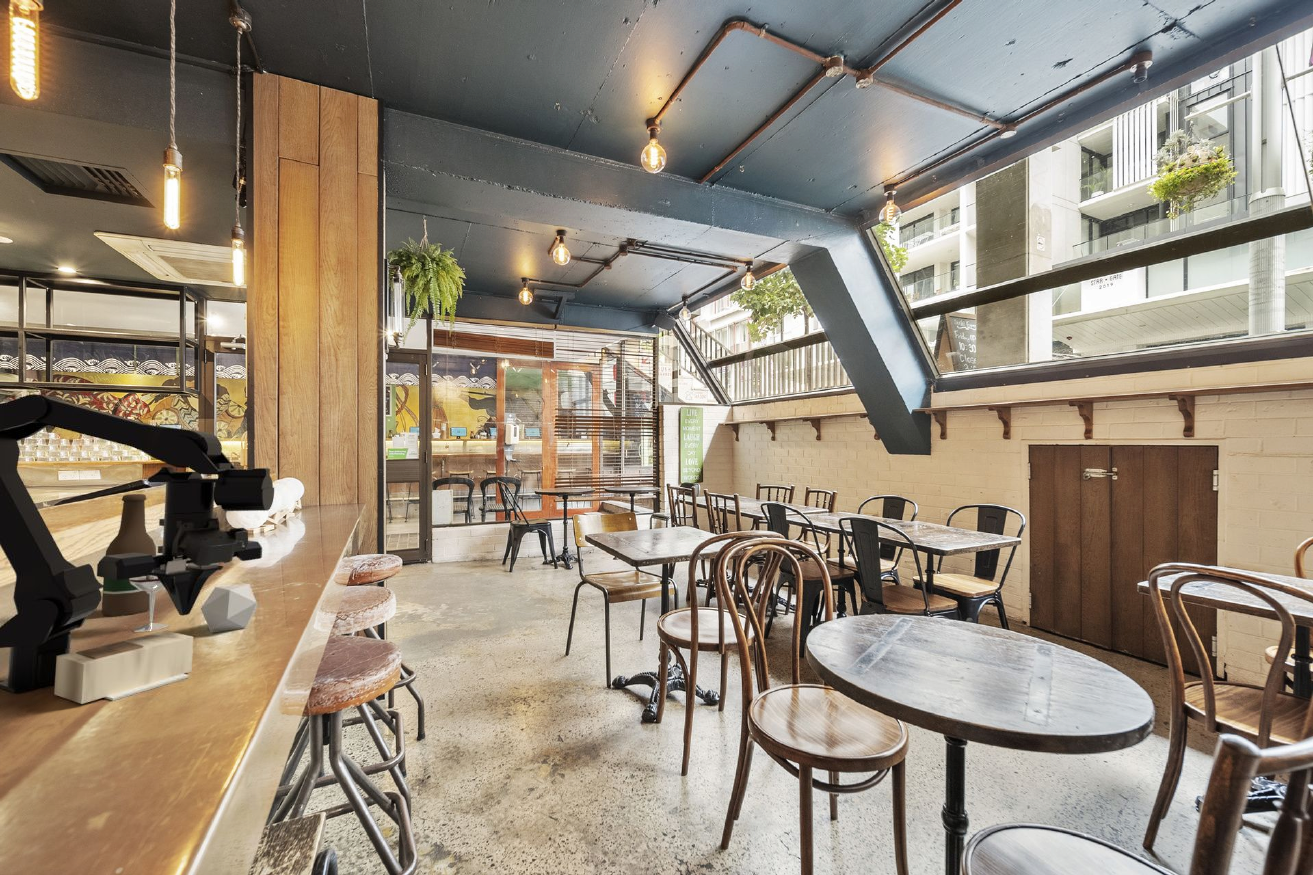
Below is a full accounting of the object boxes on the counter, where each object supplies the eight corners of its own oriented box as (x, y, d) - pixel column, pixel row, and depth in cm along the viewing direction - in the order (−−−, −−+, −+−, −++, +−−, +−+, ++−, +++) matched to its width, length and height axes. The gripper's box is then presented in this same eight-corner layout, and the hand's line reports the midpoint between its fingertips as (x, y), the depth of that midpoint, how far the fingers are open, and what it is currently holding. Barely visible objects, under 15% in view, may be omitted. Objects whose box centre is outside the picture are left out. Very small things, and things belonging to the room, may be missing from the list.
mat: (73, 687, 75) (74, 685, 75) (150, 666, 83) (150, 664, 83) (112, 700, 71) (112, 698, 71) (189, 677, 79) (189, 675, 79)
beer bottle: (148, 604, 117) (154, 492, 118) (158, 610, 112) (164, 494, 113) (97, 612, 111) (104, 494, 112) (105, 619, 106) (112, 496, 107)
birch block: (164, 663, 83) (54, 694, 72) (166, 629, 83) (56, 654, 72) (191, 670, 81) (81, 703, 69) (193, 635, 81) (84, 662, 70)
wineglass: (182, 621, 106) (185, 558, 106) (163, 631, 99) (166, 565, 100) (138, 623, 103) (142, 560, 104) (116, 634, 97) (120, 567, 98)
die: (261, 622, 108) (233, 583, 108) (275, 607, 103) (245, 567, 103) (215, 648, 101) (184, 607, 101) (227, 634, 96) (195, 590, 96)
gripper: (142, 520, 72) (135, 640, 71) (285, 509, 89) (281, 606, 88) (97, 516, 76) (91, 629, 75) (242, 506, 93) (238, 598, 92)
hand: (184, 614), depth 83 cm, fingers closed
